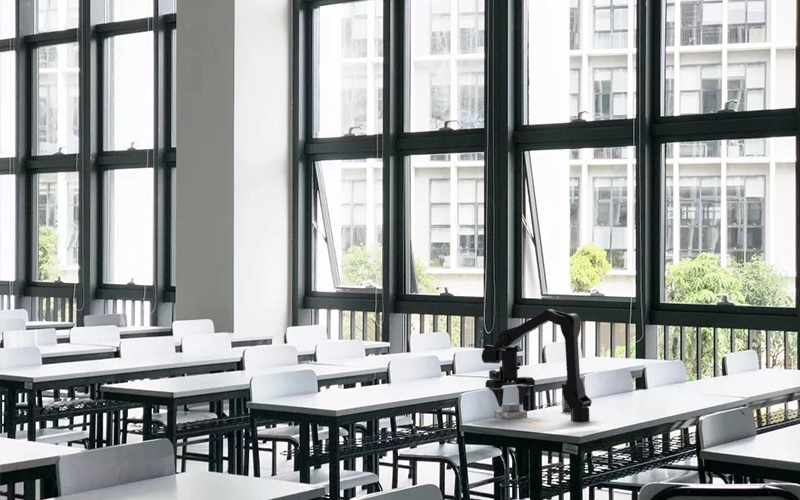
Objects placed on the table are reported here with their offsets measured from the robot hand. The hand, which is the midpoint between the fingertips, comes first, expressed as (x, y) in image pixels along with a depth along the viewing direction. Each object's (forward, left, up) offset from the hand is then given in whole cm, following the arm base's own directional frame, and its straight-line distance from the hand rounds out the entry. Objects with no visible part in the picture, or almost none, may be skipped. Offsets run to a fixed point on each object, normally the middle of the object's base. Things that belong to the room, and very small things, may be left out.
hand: (510, 405), depth 395 cm
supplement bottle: (+6, -33, -6) cm, 34 cm away
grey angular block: (0, 0, -4) cm, 4 cm away
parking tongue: (-15, +1, -6) cm, 16 cm away
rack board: (-2, 0, -6) cm, 6 cm away
